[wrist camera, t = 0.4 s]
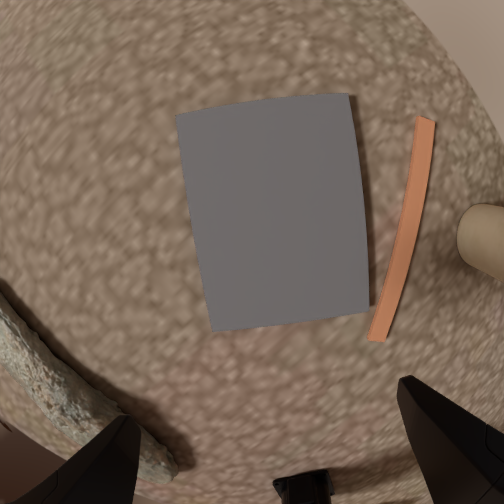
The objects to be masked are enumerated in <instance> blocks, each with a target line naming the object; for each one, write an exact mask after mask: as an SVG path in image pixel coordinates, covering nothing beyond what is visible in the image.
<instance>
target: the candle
mask: <svg viewBox="0 0 504 504" xmlns="http://www.w3.org/2000/svg"><path fill="white" fill-rule="evenodd" d="M457 247H458V251H459V254H460V256H461V257H462V259H463V260H464V261H465V262H466V263H467V264H469V265H470V266H472V267H474V268H476V269H478V270H480V271H482V272H484V273H486V274H488V275H490V276H492V277H494V278H496V279H498V280H499V281H501V282H503V283H504V207H500V206H495V205H489V204H476V205H473V206H471V207H470V208H469V209H468V210H467V211H466V212H465V213H464V214H463V216H462V218H461V220H460V222H459V225H458V229H457Z"/></svg>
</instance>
